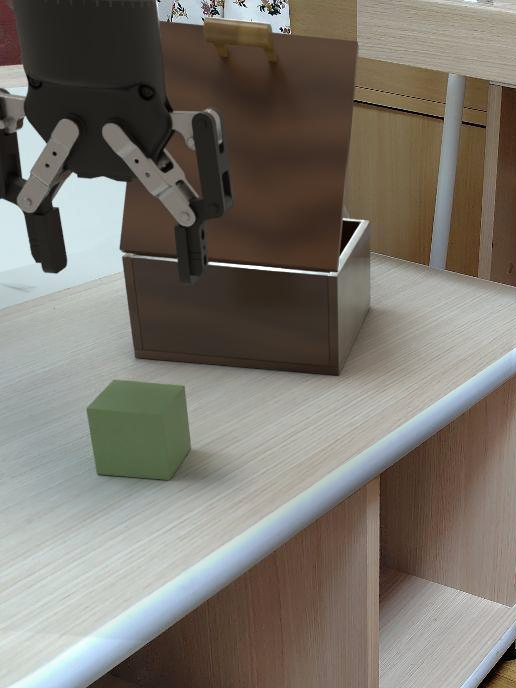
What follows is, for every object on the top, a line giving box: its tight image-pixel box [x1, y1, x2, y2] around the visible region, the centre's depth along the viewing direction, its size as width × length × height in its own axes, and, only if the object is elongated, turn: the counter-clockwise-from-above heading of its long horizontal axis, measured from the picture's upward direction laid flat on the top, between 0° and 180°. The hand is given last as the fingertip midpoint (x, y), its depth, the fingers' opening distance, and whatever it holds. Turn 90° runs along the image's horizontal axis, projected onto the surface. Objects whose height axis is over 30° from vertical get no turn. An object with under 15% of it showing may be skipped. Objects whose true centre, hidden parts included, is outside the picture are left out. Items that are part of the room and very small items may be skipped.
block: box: [85, 379, 192, 481], centre depth 69 cm, size 5×5×5 cm
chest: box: [121, 218, 371, 376], centre depth 91 cm, size 19×18×9 cm
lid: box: [118, 16, 360, 273], centre depth 80 cm, size 20×18×5 cm
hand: (123, 275), depth 63 cm, fingers open, 8 cm apart
